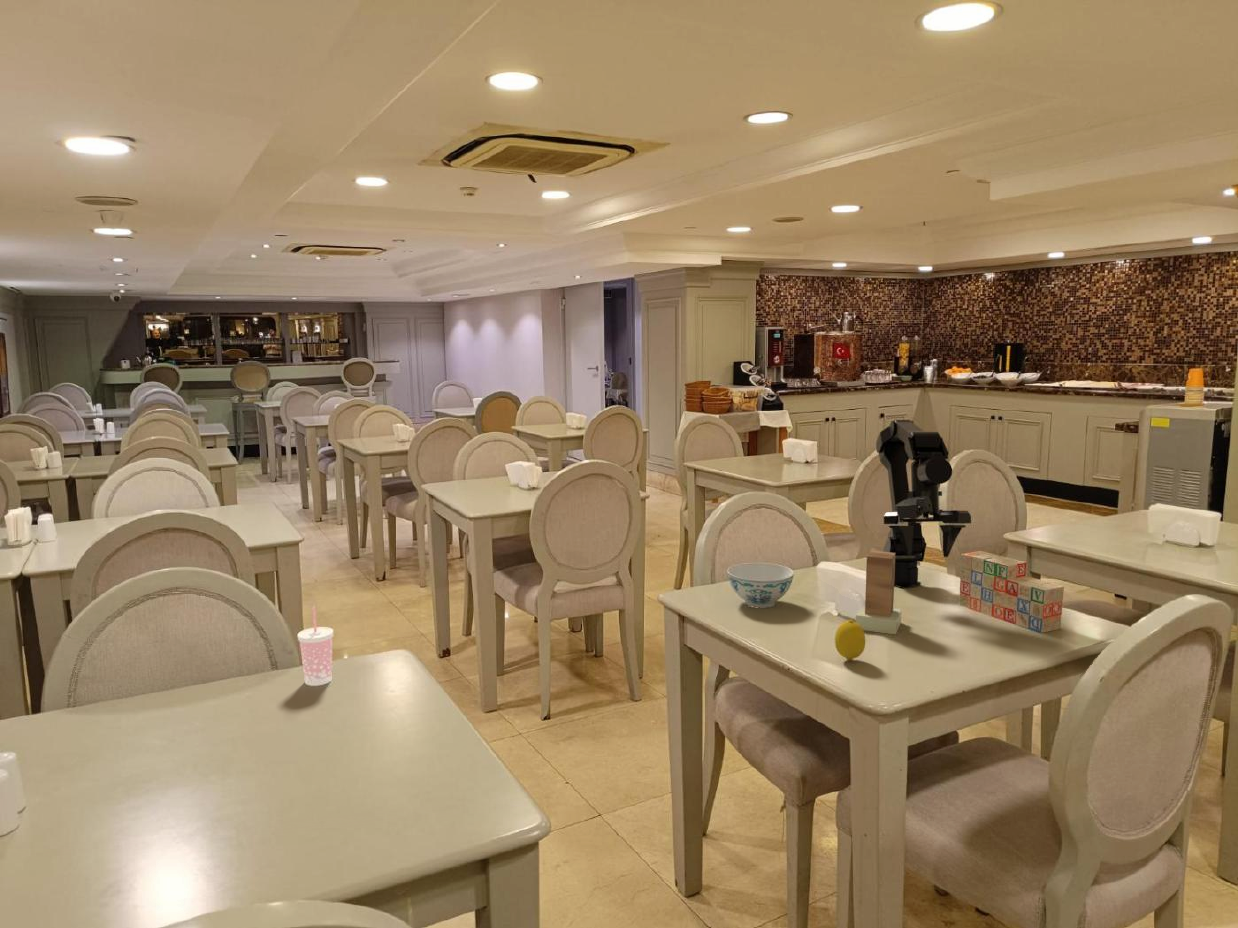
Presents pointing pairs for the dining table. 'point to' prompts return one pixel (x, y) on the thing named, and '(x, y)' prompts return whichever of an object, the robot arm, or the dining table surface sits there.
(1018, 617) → the stack of blocks
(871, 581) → the pillar
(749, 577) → the chinaware
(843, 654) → the lemon
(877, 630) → the base slab
